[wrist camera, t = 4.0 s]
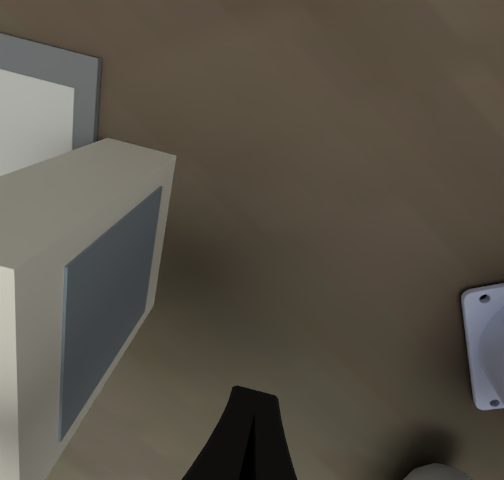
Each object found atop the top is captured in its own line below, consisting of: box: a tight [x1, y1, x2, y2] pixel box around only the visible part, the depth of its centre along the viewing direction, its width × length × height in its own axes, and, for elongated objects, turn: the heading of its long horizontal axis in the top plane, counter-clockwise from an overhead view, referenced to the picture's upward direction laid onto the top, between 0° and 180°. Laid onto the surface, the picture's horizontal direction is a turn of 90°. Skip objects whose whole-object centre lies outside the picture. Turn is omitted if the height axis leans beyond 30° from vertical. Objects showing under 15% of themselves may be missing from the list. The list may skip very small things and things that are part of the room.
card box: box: [0, 138, 176, 480], centre depth 16 cm, size 4×9×12 cm, turn 167°
